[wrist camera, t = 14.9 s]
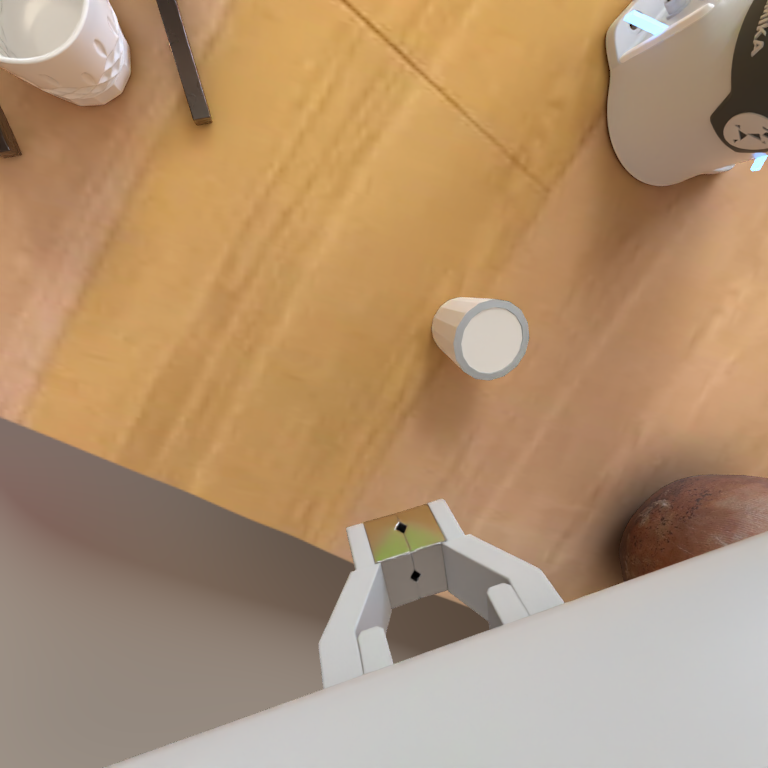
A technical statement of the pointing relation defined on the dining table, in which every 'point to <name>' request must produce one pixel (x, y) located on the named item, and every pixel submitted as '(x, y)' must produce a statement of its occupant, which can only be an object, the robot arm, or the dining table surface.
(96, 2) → the white cup
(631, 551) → the pottery
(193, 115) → the walnut frame
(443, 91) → the dining table surface
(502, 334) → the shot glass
